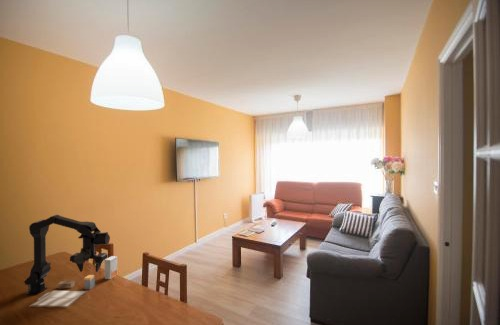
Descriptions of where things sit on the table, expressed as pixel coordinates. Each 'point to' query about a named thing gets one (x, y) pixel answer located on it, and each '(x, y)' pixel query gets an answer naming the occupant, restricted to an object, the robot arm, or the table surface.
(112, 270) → the skincare box
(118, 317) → the table surface
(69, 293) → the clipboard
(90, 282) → the lidded cardboard box
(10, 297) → the table surface
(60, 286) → the plain pale rectangular box
